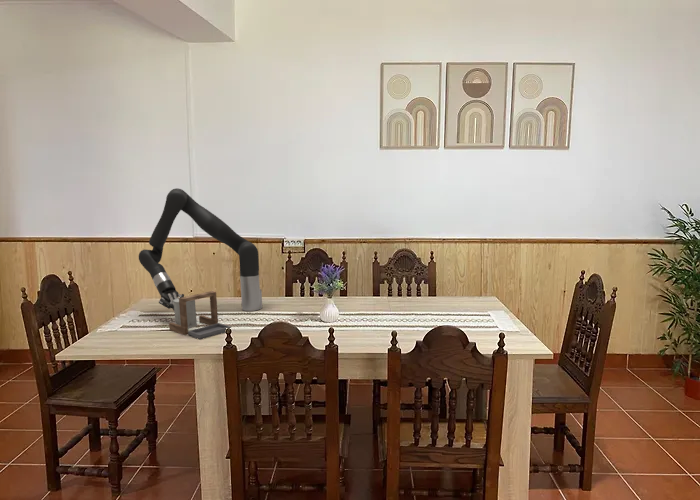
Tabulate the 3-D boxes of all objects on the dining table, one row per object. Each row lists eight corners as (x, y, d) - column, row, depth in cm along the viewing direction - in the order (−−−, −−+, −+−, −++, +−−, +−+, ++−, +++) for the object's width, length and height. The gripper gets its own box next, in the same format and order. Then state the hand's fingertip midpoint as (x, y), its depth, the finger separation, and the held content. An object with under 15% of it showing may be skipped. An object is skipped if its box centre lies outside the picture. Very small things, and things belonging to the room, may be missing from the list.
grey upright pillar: (175, 329, 280) (173, 302, 278) (175, 324, 289) (173, 298, 287) (197, 327, 282) (195, 301, 280) (196, 322, 291) (195, 296, 289)
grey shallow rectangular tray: (219, 327, 282) (219, 322, 281) (231, 330, 275) (230, 326, 275) (188, 335, 270) (187, 331, 270) (199, 339, 264) (199, 335, 264)
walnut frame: (202, 321, 292) (199, 288, 289) (218, 326, 283) (216, 291, 280) (169, 329, 280) (166, 294, 277) (185, 335, 271) (182, 299, 268)
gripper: (153, 281, 288) (169, 312, 282) (179, 277, 297) (194, 306, 291) (148, 291, 293) (164, 321, 286) (173, 286, 302) (189, 315, 295)
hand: (179, 313), depth 289 cm, fingers closed
